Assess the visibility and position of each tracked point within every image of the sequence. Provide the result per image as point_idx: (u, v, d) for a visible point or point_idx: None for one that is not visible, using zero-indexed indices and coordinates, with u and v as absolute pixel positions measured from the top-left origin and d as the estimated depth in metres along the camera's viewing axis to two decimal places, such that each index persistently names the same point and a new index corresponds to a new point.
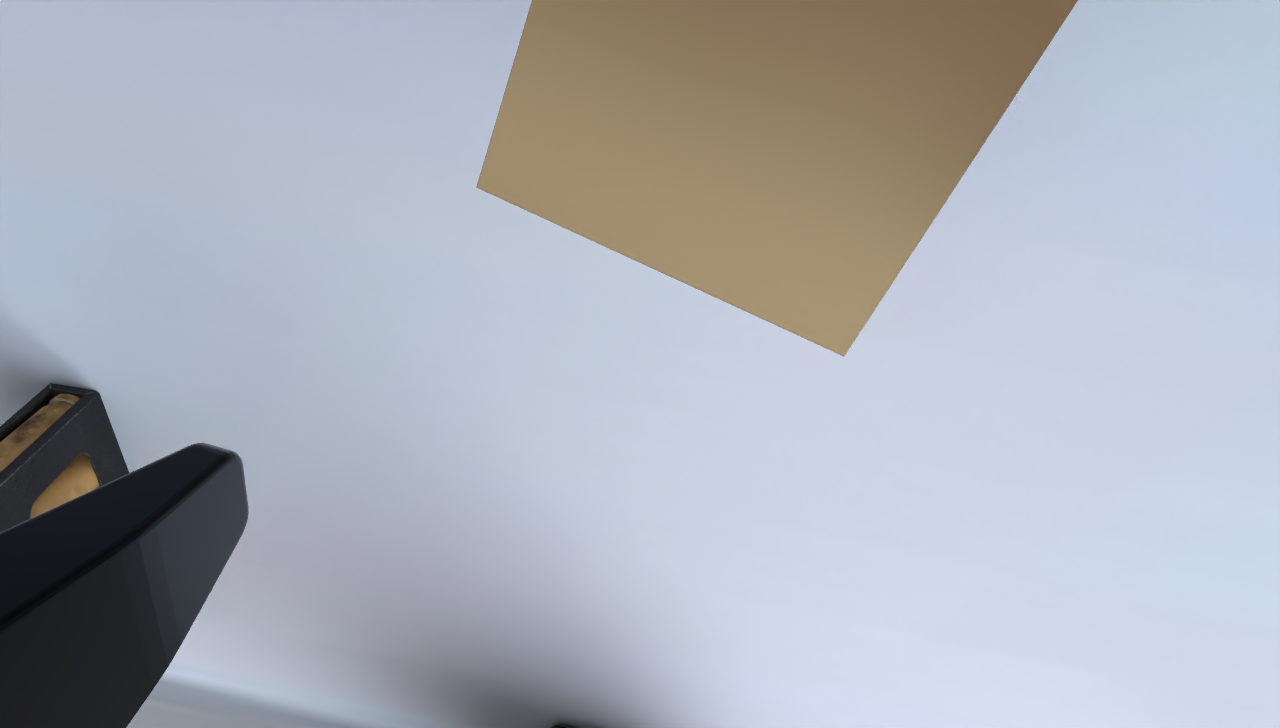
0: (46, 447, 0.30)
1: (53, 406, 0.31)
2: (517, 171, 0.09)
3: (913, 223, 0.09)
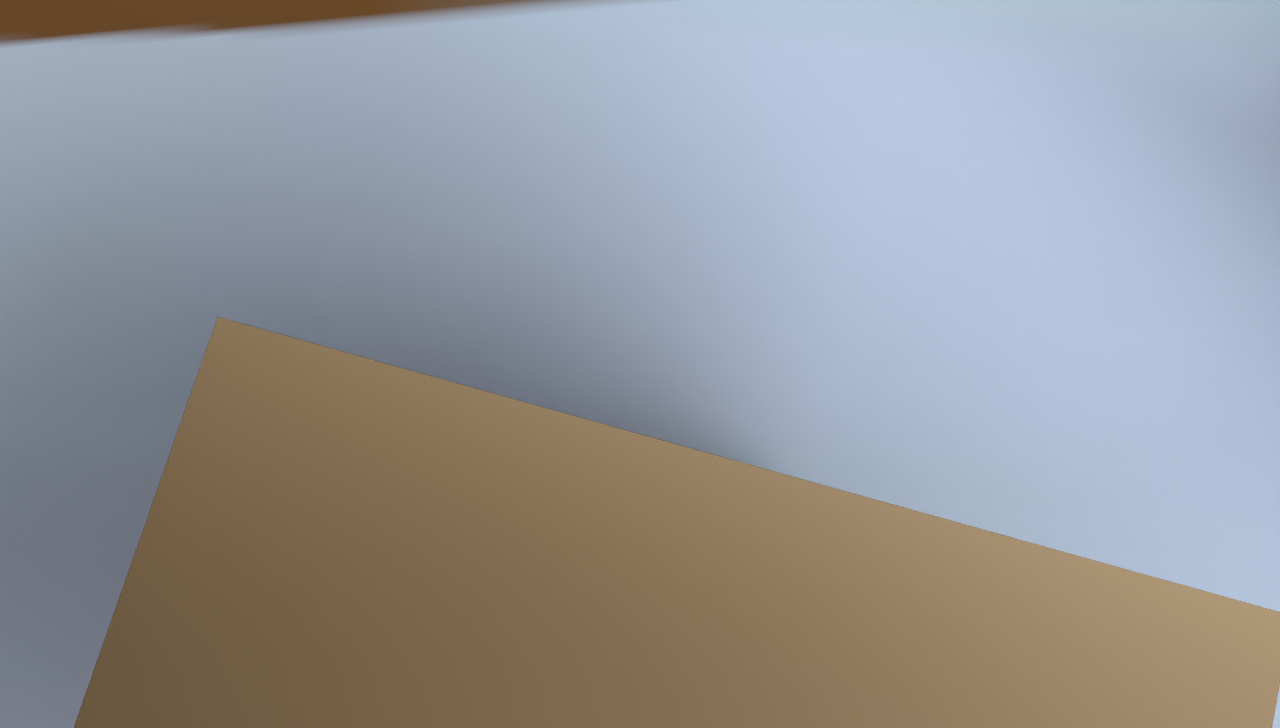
0: None
1: None
2: None
3: None
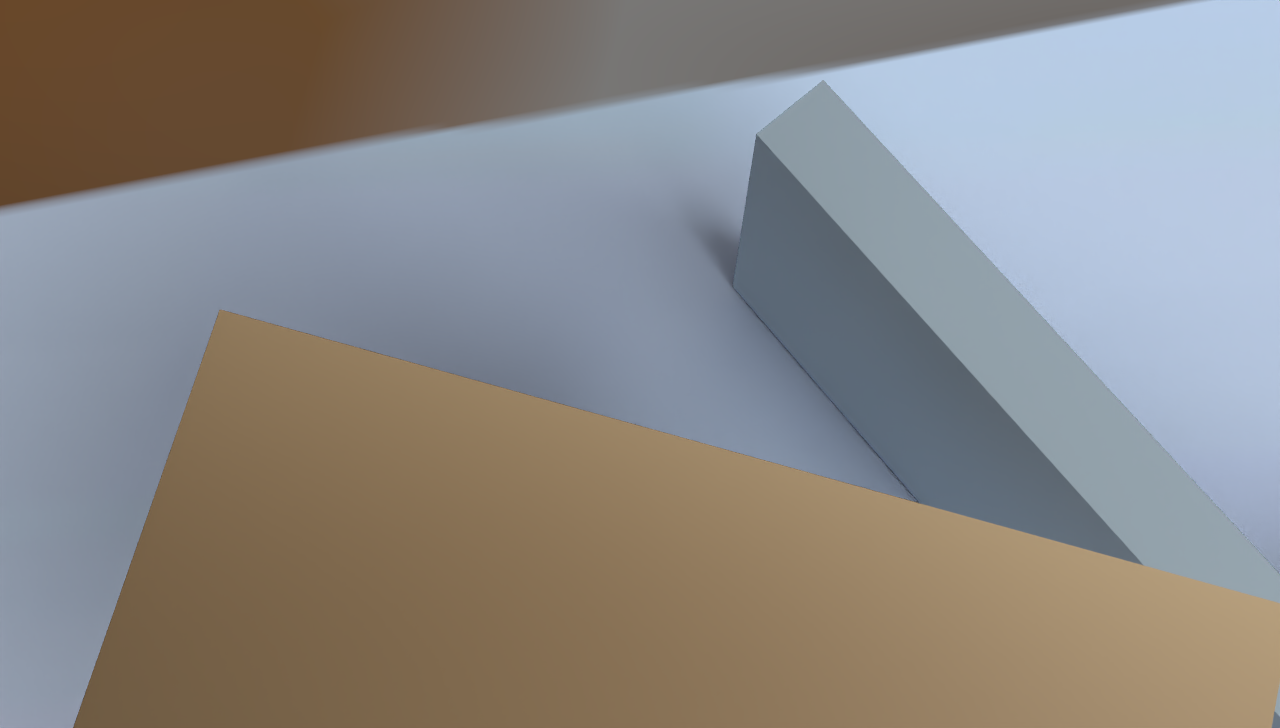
0: None
1: None
2: None
3: None
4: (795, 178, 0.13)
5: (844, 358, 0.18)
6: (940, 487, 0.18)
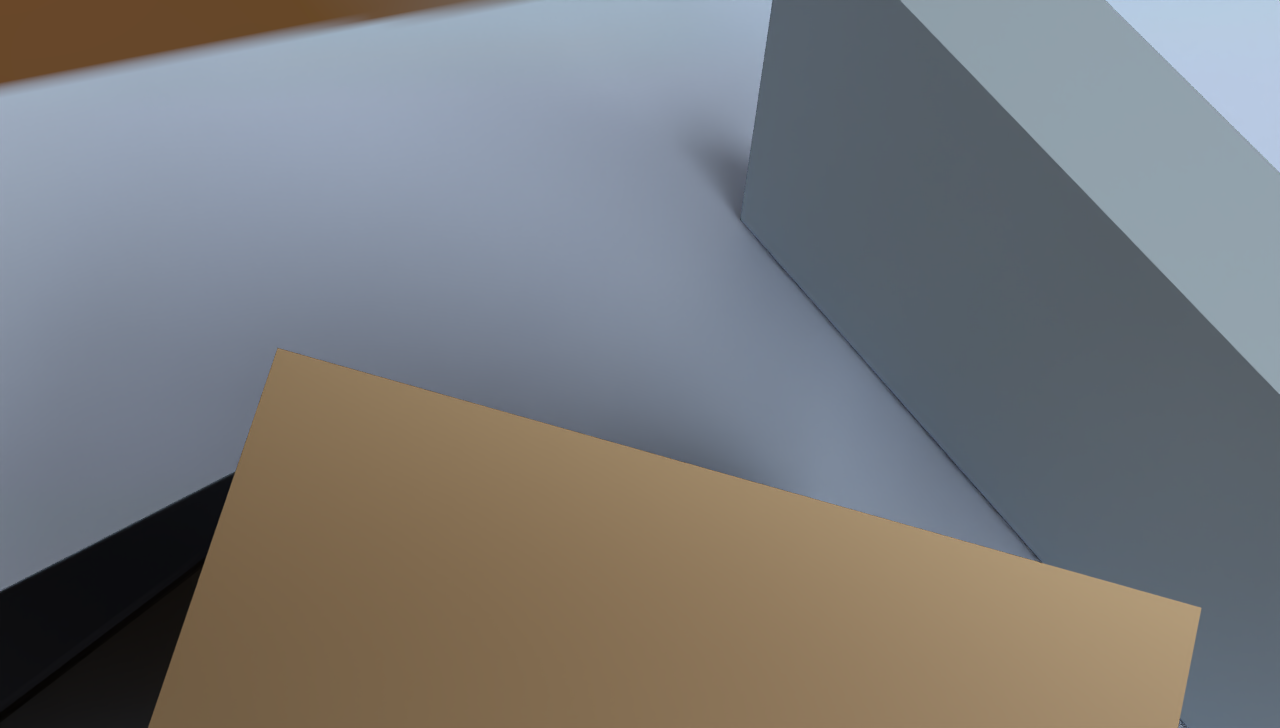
0: None
1: None
2: None
3: None
4: None
5: (902, 298, 0.13)
6: (1035, 482, 0.13)
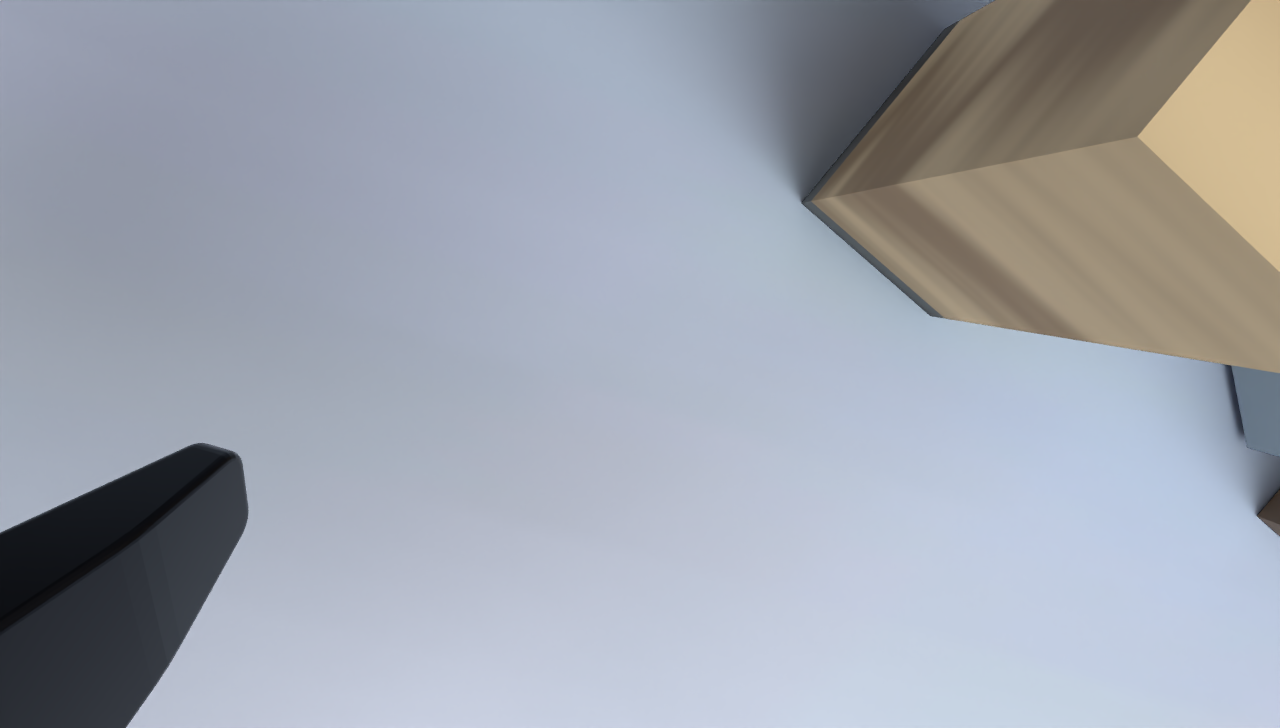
0: None
1: None
2: (1185, 131, 0.09)
3: None
4: None
5: None
6: None
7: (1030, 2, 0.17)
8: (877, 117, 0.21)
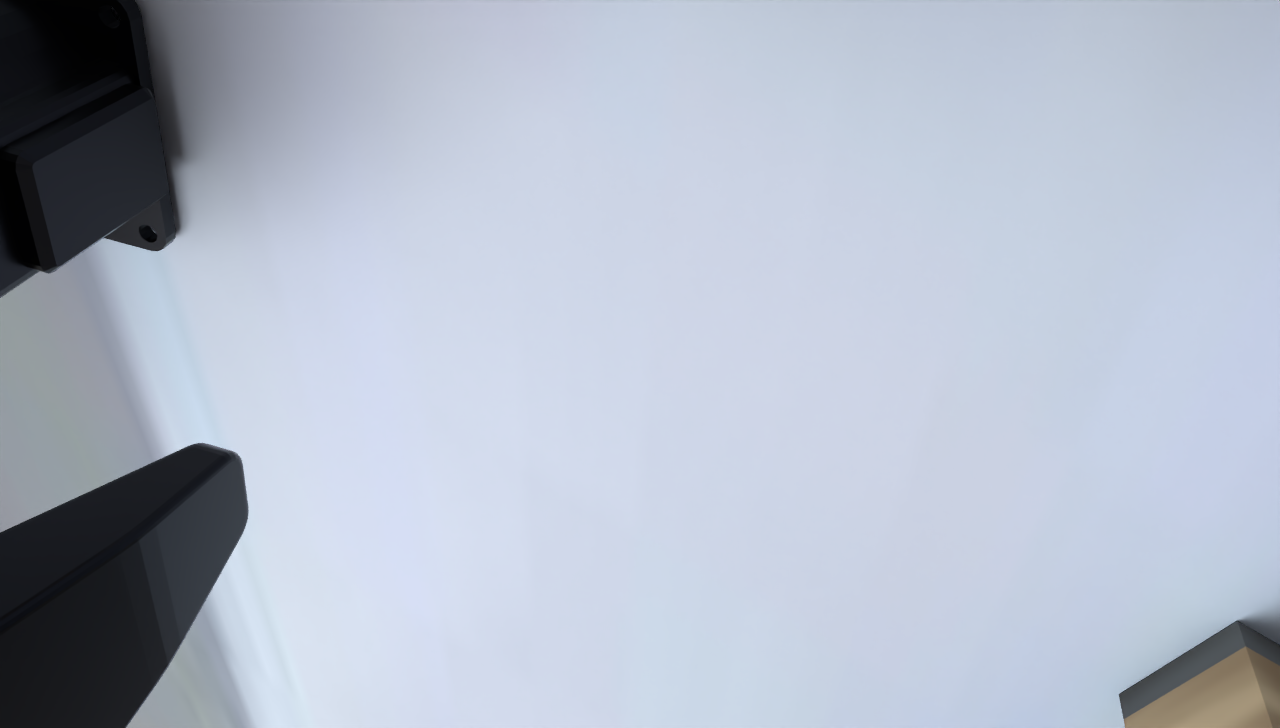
0: None
1: None
2: None
3: None
4: None
5: None
6: None
7: None
8: None
